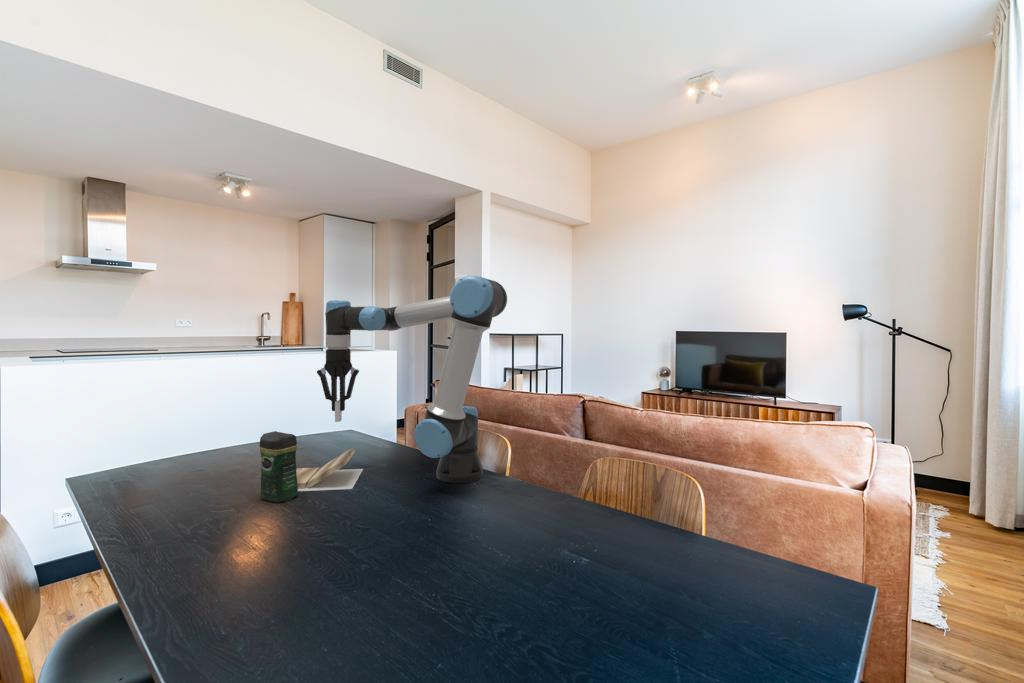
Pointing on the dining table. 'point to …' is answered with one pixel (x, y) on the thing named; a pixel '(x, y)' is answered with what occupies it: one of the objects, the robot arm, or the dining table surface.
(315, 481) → the plank
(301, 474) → the laid section
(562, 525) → the dining table surface
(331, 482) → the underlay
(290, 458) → the coffee jar
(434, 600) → the dining table surface
